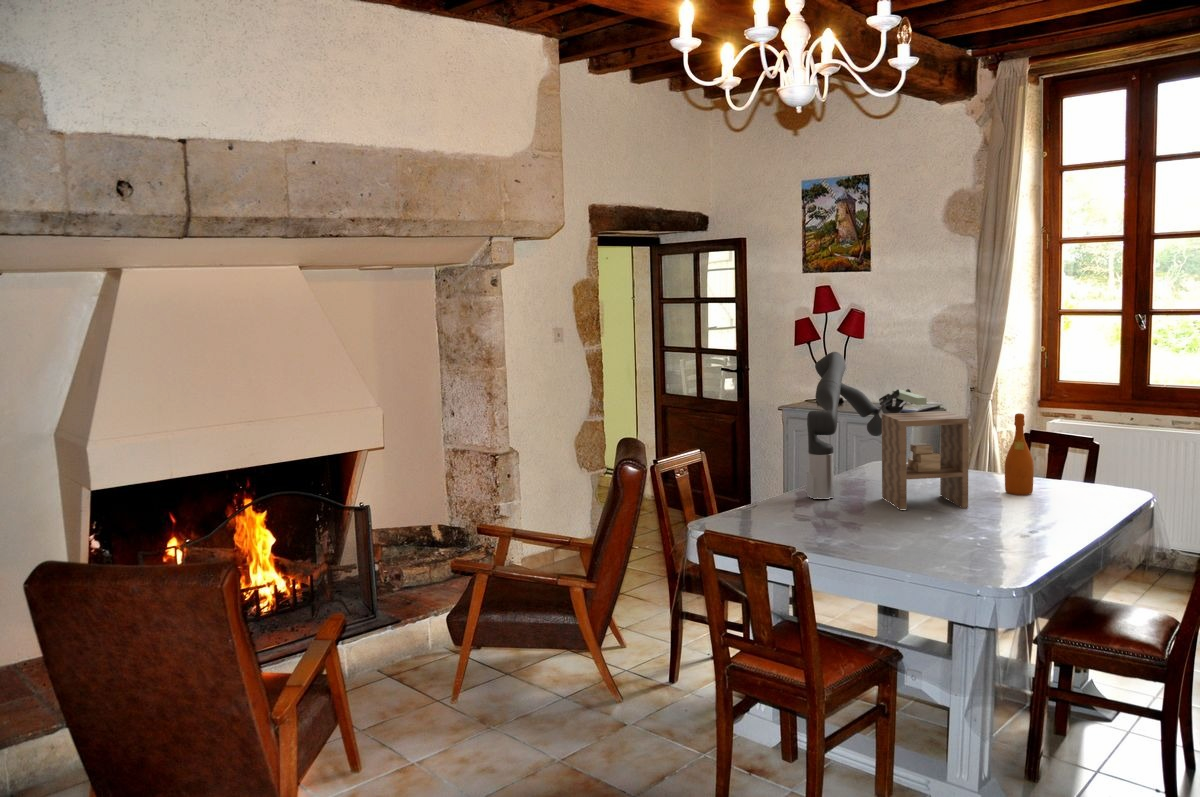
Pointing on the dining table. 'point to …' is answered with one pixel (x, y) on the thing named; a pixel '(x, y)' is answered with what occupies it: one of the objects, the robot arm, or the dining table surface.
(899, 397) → the slat
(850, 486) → the dining table surface
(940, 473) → the rack
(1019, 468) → the wine bottle
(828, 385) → the robot arm
